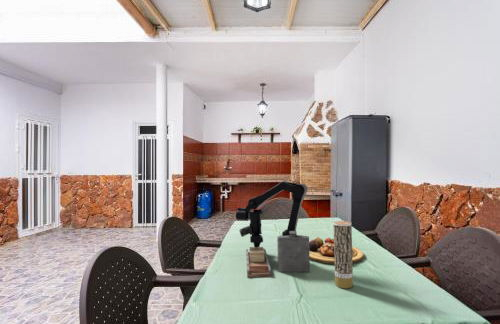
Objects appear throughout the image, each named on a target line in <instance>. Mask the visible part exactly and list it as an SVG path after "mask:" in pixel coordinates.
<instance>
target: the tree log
mask: <svg viewBox="0 0 500 324" xmlns="http://www.w3.org/2000/svg"><path fill="white" fill-rule="evenodd" d="M352 229H353V227H352V222H351V221H343V220H337V221H334V222H333V239H334V262H335V264H334V284H335V286H336V287H338V288H341V289H350V288H353V285H354V281H353V280H354V279H353V276H354V274H353V272H354V271H353V269H354V268H353V267H354V266H353V264H352V247H353V237H352V236H353V234H352V233H353V230H352Z"/></svg>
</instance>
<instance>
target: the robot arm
mask: <svg viewBox="0 0 500 324" xmlns="http://www.w3.org/2000/svg"><path fill="white" fill-rule="evenodd" d="M283 191H286V192H288V193H292V201H293V202H292V206H291V211H290V214H289V220H288V225H287V228H286V229H284V230H283V231H282V233H281V234H282V235H281V236H290V233H289V232H290V231H296V232H297V226H298V222H299V216H300V212H301V209H302V204H303V201H304V199H305V197H306V195H307V193H308V186H307V184H305V183H304V182H303V183H302V182H301V183H295V182H289V181H286V180H283V181H280V182H279V183H278V184H276V185H274V186H273V187H272V188H270V189H268V190H267V191H265V192H263V193H262V194H260V195H257V196H254V197H251V198H250V199H248V202H247V206H246V207H237V209H236V213H235V219H236V221H240V222H241V221H243V222H248V221H249V225H247V226H244V227H242V228H240V229H239V233H240V236H241V237H245V236H247V235H250V236H249V239H250V241H249V242H250V243H252V244H253V247H261V246H260V245H261V243H263V242H264V237H263V235H262V232H263V231H262V214H264V213H266V212H265V210H263V208H261V207H262V206H263V205H264V204H265V203H266V202H267V201H268V200H269V199H271V198H273V197H274V196H276V195H278V194H279V193H281V192H283ZM258 208H259V209H258ZM296 235H298V233H297V234H296Z"/></svg>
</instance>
